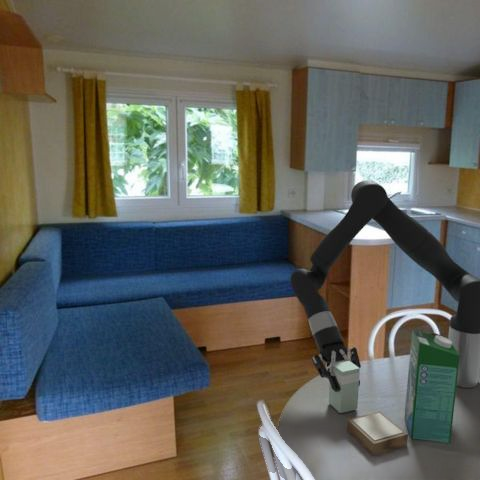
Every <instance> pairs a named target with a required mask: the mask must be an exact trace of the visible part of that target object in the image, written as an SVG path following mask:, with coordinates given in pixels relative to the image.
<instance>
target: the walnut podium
mask: <svg viewBox="0 0 480 480" xmlns="http://www.w3.org/2000/svg"><path fill="white" fill-rule="evenodd" d="M346 425H347V426H346V431H347V432H348V433H349V434H350V435H351V436H352V437H353V438H354V439H355V440H356V441H357V442H358V443H359V444H360V445H361V446H363V448H364V449H366V451H368V452H369V454H371V455H372V457H373V456H376V455H380V454H383V453H386V452H390V451H393V450H396V449H400V448H403V447H406V446H408V439H409V438H408V437H409V433H407V432H406V431H405V430H404V429H402V427H400V426H398V424H396V423H395V422H394V421H392V420H391V419H390V418H389V417H387V415H385V414H384V413H383V412H382V411H376V412H371V413H367V414H364V415H360V416H357V417H352V418H348V419H347V423H346Z"/></svg>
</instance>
